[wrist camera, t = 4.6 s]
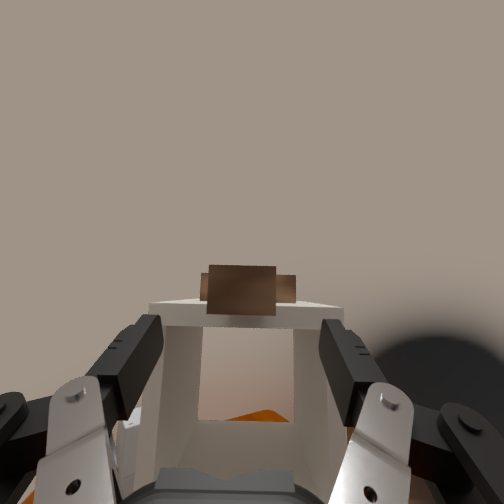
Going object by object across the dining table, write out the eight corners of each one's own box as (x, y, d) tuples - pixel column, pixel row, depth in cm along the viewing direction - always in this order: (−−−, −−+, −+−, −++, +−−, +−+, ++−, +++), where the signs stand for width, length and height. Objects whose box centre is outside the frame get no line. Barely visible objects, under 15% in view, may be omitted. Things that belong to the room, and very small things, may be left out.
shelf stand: (305, 519, 34) (302, 301, 39) (363, 769, 16) (343, 307, 21) (181, 515, 34) (195, 298, 39) (103, 759, 16) (149, 302, 22)
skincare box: (146, 509, 35) (154, 420, 37) (113, 525, 32) (124, 428, 34) (138, 482, 39) (145, 404, 42) (108, 494, 37) (118, 411, 39)
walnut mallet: (284, 300, 39) (284, 279, 39) (360, 318, 12) (357, 249, 12) (213, 299, 39) (214, 278, 39) (121, 311, 12) (130, 244, 12)
